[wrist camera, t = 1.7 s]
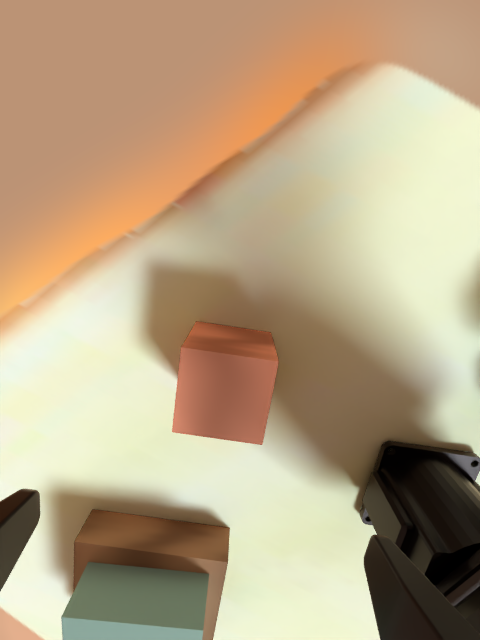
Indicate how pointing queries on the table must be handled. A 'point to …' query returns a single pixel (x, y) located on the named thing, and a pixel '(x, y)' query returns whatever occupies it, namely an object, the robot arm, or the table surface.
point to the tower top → (136, 604)
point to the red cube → (225, 383)
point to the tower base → (156, 550)
